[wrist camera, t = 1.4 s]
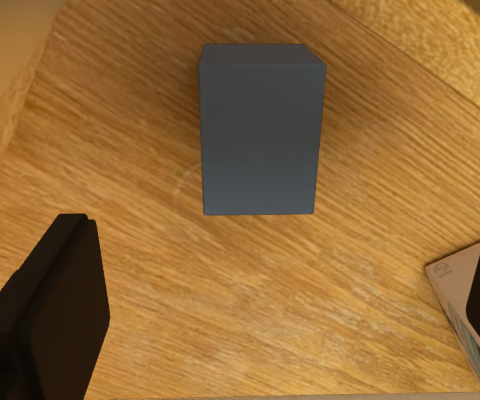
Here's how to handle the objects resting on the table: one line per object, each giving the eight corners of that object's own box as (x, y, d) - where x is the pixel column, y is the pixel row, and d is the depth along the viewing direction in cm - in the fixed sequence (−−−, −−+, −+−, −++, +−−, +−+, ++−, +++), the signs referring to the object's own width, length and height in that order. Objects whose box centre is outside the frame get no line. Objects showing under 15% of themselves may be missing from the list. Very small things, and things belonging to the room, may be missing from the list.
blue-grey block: (203, 43, 20) (197, 63, 16) (304, 43, 20) (327, 63, 16) (207, 168, 23) (203, 216, 18) (296, 167, 23) (314, 215, 18)
